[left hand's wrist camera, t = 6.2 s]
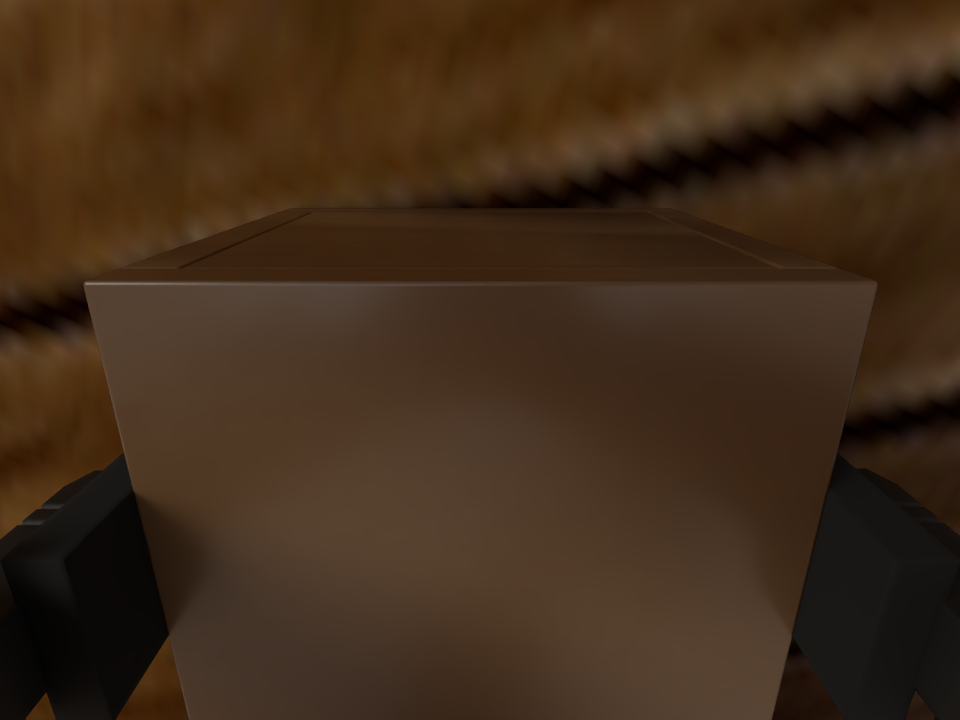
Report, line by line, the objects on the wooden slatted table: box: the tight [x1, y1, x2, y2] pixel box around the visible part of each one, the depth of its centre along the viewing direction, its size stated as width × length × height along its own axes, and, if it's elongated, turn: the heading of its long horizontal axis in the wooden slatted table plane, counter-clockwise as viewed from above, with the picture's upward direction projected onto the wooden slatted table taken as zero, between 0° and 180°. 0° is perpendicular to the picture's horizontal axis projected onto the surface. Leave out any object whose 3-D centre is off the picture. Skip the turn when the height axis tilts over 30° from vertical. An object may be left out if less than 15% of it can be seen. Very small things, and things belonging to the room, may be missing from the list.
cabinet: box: [84, 208, 878, 720], centre depth 15 cm, size 20×10×8 cm, turn 0°
